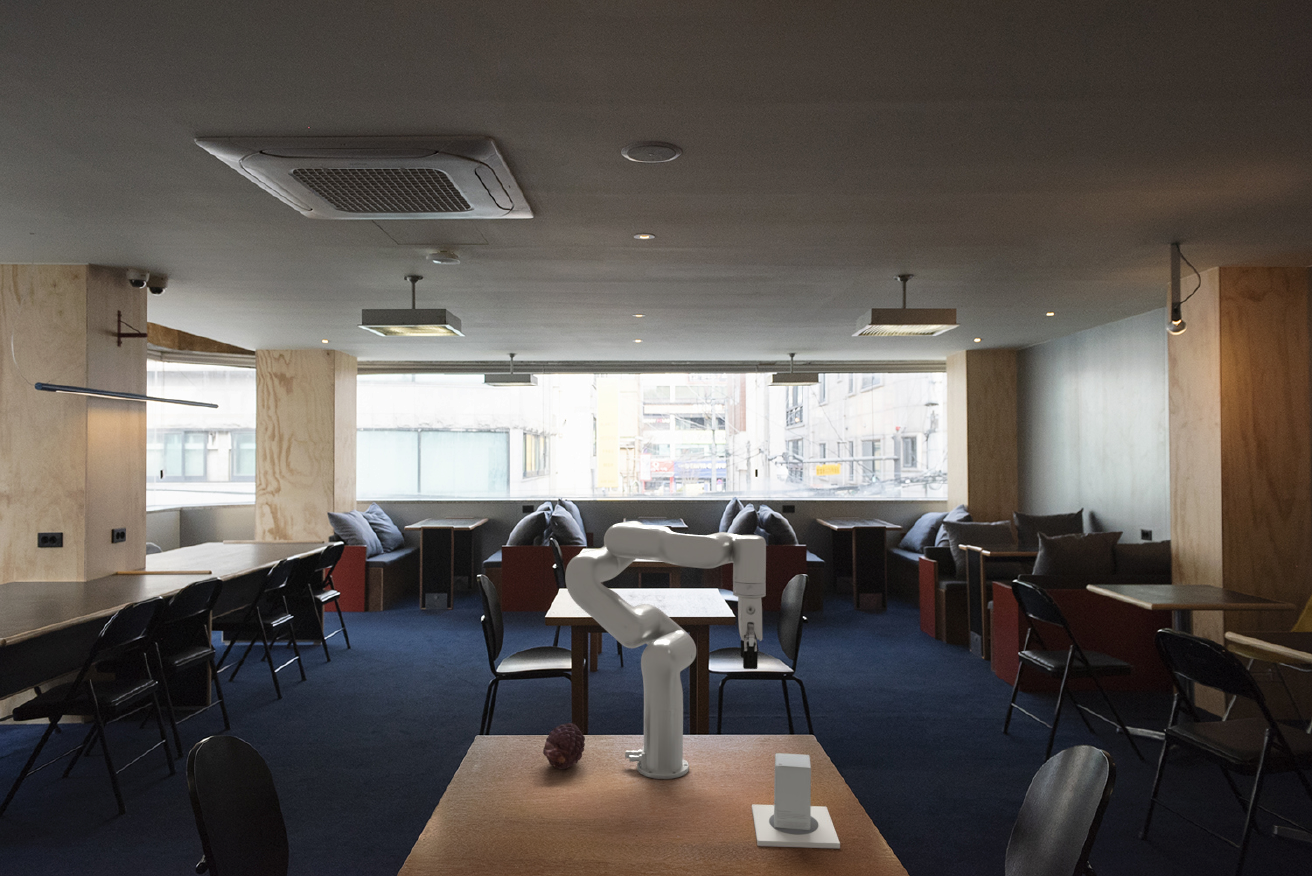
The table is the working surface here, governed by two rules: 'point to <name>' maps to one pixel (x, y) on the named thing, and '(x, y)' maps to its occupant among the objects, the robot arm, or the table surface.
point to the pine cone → (564, 746)
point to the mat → (794, 830)
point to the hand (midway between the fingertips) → (748, 662)
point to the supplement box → (792, 791)
